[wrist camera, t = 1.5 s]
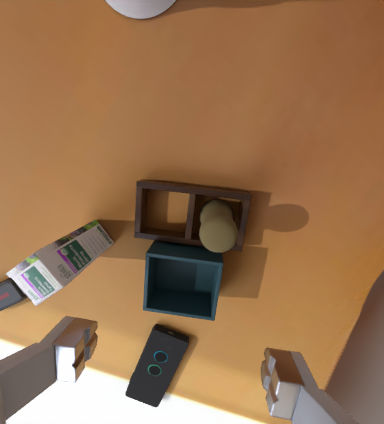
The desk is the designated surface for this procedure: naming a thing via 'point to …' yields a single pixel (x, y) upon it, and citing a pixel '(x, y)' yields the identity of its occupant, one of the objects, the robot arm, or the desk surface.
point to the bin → (182, 280)
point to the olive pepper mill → (217, 226)
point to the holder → (193, 190)
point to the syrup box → (60, 262)
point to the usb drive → (10, 293)
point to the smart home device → (157, 365)
